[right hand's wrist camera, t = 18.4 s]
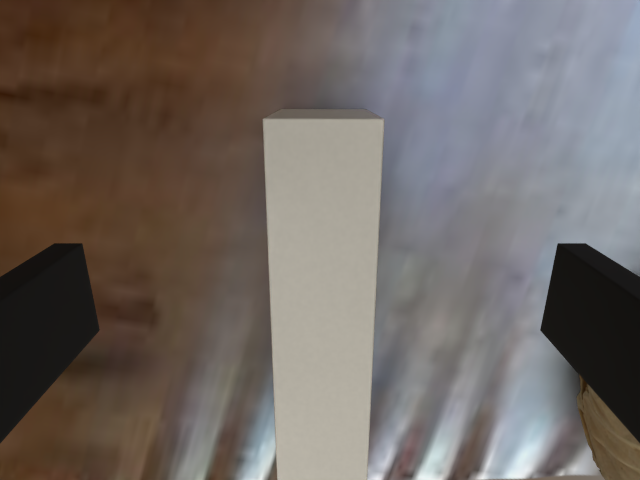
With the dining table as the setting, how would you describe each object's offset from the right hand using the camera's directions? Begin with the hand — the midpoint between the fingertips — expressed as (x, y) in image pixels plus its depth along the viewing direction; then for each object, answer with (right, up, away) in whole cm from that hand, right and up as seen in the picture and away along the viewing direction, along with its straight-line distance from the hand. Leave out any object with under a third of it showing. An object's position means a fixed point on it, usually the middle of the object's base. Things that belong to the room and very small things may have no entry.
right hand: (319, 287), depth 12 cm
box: (0, -3, +22) cm, 22 cm away
